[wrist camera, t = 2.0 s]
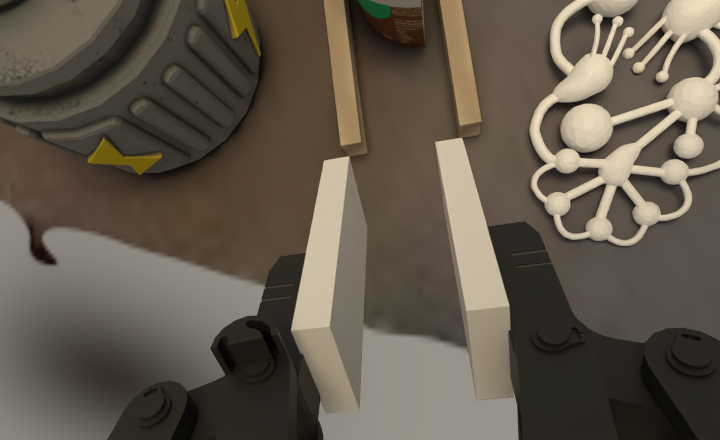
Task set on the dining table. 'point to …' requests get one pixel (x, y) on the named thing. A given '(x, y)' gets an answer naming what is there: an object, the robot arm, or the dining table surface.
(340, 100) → the birch chute
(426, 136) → the dining table surface
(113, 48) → the decorative lamp
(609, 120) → the tangled rod sculpture
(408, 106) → the dining table surface
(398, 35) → the food container
